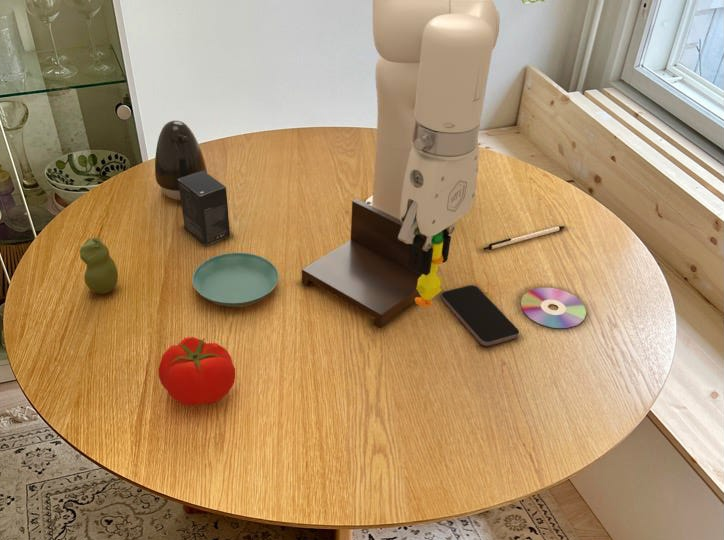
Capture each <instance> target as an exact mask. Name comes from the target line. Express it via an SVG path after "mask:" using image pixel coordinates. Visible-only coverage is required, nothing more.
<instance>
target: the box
mask: <svg viewBox="0 0 724 540" xmlns="http://www.w3.org/2000/svg"><path fill="white" fill-rule="evenodd" d="M178 184H179V191H180V198H181V200H180V204H181V205H180V206H181V212H182V219H183V226H184V227H183V228H184V229H185V230H187V232H189V233H190V234H191V235H192V236H194V237H195V238H196V239H197V240H198V241H199V242H201V244H203V245H204V246H209V245H211V244H215V243H217V242H220V241H222V240H224V239H228V238H230V236H231V228H230V218H229V217H230V216H229V206H228V195H227V193H228V192H227V187H226V186H225V185H224V184H222V183H221V182H220V181H218V180H217V179H216V178H214V177H213V176H212V175H210V174H209V173H208V172H207V173H206V172H205V171H200V172H197V173H194V174H191V175H188V176H185V177H181V178H179V179H178Z"/></svg>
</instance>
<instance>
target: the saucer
mask: <svg viewBox="0 0 724 540" xmlns="http://www.w3.org/2000/svg"><path fill="white" fill-rule="evenodd" d="M279 279H280V273H279V271H278V268H277V267H276V266H275V264H274V263H273V262H271V261H270V260H269V259H267V258H265V257H263V256H260V255H257V254H254V253H250V252H227V253H221V254H218V255H215V256H212V257H210V258H208V259H206V260H204V261H203V262H201V263H200V264H199V265H198V266H197V267H196V268H195V269H194V271H193V273H192V277H191V283H192V286H193V288H194V289H195V291H196V292H197V293H198V294H199V295H200V296H201V297H203V298H204V299H206V300H207V301H209V302H210V303H213V304H216V305H218V306H222V307H228V308H242V307H247V306H250V305H251V306H252V305H253V304H256V303H259V302H260V301H262V300H263V299H264V298H267V296H268V295H270V294H271V292H272V291H273V290H274V289H275V288H276V286H277V285H278V282H279Z"/></svg>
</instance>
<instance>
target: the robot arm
mask: <svg viewBox="0 0 724 540" xmlns="http://www.w3.org/2000/svg"><path fill="white" fill-rule="evenodd" d="M500 21H501V17H500V11H499V10H498V9H497V6H496V4H495V2H494V1H493V0H372V36H373V43H374V46H375V50H376V52H377V53H378V55H379V57H378V59H377V61H376V65H375V73H374V74H375V91H376V103H377V115H376V116H377V117H376V118H377V119H376V120H377V121H376V138H375V139H376V141H375V154H374V155H375V156H374V169H373V170H374V171H373V183H372V184H373V187H372V195H370V196H369V197H367V199H366V200H365V201H364V202H365V203H367V204H369V205H371V206H373V207H375V208H377V209H379V210H381V211H383V212H385V213H387V214H389V215H391V216H393V217H395V218H397V219H399V220H400V221H401V223H402V224H403V225H402V227H401V230H400V233H399V235H398V240H400V241H402V242H404V243H406V244H411V245H410V254H409V263H408V264H409V266H410V267H411V268H413V269H415V270H417V271H418V272H420V273H422V274H424V275H428V274H429V273H430V270H431V263H432V256H433V249H432V248H431V243H432V237H433V236H434V235H436V234H438V233H439V232H441V231H442V232H443V235H442V237H443V239H444V240H443V247H442V256H443V261H442V262H441V263H446V262H448V258H449V255H450V254H449V253H450V247H451V240H452V235H453V233H454V232H455V228H456V222H457V221H459V220H460V219H462V218H463V217H465V216H466V215H467V214H468V213H470V211H471V210H472V209H473V207H474V202H475V197H476V189H477V184H478V183H477V182H478V173H479V156H480V154H479V153H480V152H479V149H480V147H479V133H480V126H481V121H482V115H483V109H484V103H485V97H486V90H487V84H488V79H489V73H490V68H491V67H490V66H491V61H492V56H493V55H492V54H493V51H494V49H495V47H496V45H497V41H498V37H499V33H500ZM419 230H420V233H421V234H424V238H423V237H421V236H420V235H418V231H419Z"/></svg>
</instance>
